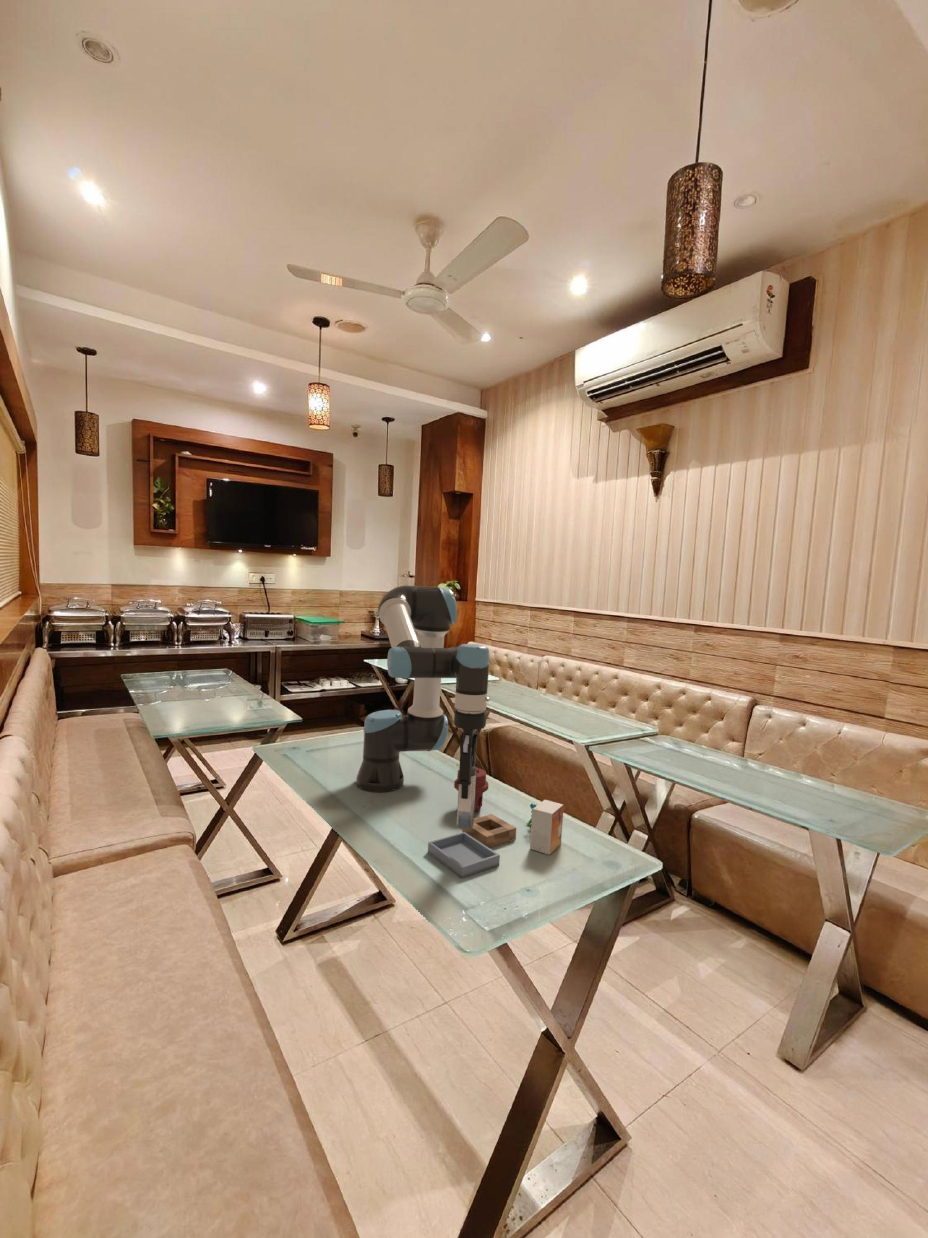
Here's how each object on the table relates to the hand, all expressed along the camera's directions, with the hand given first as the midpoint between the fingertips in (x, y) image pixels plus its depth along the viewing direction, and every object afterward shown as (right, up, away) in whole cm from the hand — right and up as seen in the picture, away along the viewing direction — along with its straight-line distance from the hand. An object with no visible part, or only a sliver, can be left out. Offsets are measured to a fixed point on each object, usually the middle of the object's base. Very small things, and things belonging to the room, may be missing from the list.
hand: (465, 806), depth 130 cm
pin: (0, -4, 0) cm, 4 cm away
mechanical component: (+1, -11, +30) cm, 32 cm away
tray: (-1, -13, +1) cm, 13 cm away
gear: (+21, -13, +19) cm, 31 cm away
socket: (+6, -12, +13) cm, 19 cm away
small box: (+20, -14, +9) cm, 26 cm away
